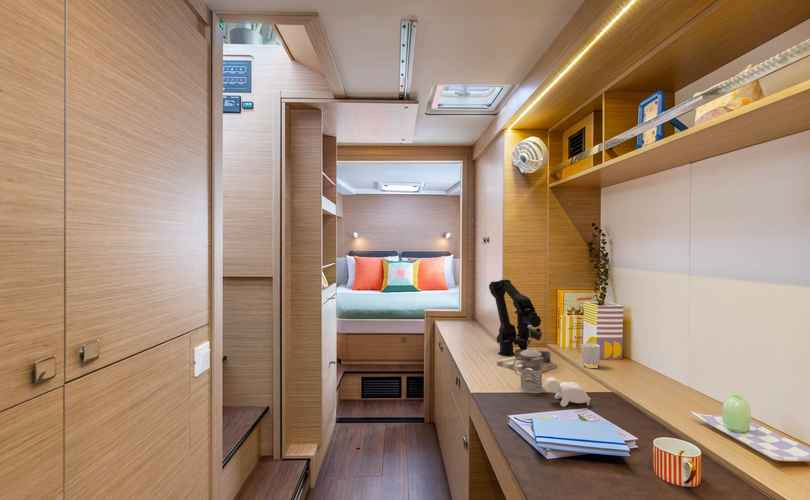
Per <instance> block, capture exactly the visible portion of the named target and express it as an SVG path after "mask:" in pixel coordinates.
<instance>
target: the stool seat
mask: <svg viewBox="0 0 810 500" xmlns="http://www.w3.org/2000/svg"><path fill="white" fill-rule="evenodd" d="M514 360H515V355H514V356H512V357H511V356H510V357H506V358H503V359H499V360H496V366H499V367H503V368H506V369H510V370H512V371H514V369H515V371H516V372H520V373H521V367H522V366H523V365H522V363H523V362H537V363H539V364H541V365H540V366H539V367H541V368H542V373H543V372H546V371H550V370H552V369H556V368H557V367H558V366H557V362H553V361H550V362H544V357H537V358H533V359H531V360H523V359H521V361H520V359H517V360H516V362H515V364H514V368H513V363H514ZM527 369H528V370H532V371H534V370H533V369H531V368H525V369H524V370H527Z"/></svg>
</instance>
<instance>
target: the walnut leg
mask: <svg viewBox="0 0 810 500" xmlns="http://www.w3.org/2000/svg"><path fill="white" fill-rule="evenodd" d="M514 351H515V352H514V353H515V354H514V356H515V359H516V358H517V357H518V358H519V357H521V359H523V360H531V359H533V358H537V357H525V356H522V355H521V354H520V352H522V351H524V350H523V349H520V348H516V349H514ZM537 351H538V352H540V353H541V354H542V355H541V356H540V357H544V362H551V351H543V350H537ZM518 358H517V359H518ZM519 359H520V358H519Z"/></svg>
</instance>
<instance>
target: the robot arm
mask: <svg viewBox="0 0 810 500" xmlns="http://www.w3.org/2000/svg"><path fill="white" fill-rule="evenodd" d="M488 288H489V292H490V294H491V295H492V297H494V299H495V305H496V309H497V313H498V318H499V322H500V325H499V329H498V335H497V336H496V339H495V341H496V342H497V343H498V344H499V352H497V354H498V355H502V356H506V357H508V356H512V355H515V352H514V345H516V346H518V347H519V349H523V350H528V346H529V345H530V340H531V339H534V340H536V341H540V340H542V339H541V338H542V336H543V332H542V329H541V328H539V327H540V325H541V324H542V319H541V317H540V316H539V315H538V312H537V311H536V309H535V306H534V305H533V301H531V299H530V297H528V296H526V295H524V294H521V292H520V291H519V290H518V289H517V288H516V286H514V284H513V283H512V282H511V280H510V279H500V280H497V281H490V283H489V284H488ZM506 294H507V295H508V296H509V297H510V299H511V300H512V305H513V306H514V308H515V309H516V310H515V311H514V314H516V318H517V319H516V320H517V322H516V323H517V325H516V326H515V324H512V323H511V320H510V316H509V312H508V307H507V302H506V298H505V295H506ZM528 325H532V328H527V327H528ZM535 328H536V329H535ZM516 330H517V331H516Z"/></svg>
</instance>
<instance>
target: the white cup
mask: <svg viewBox="0 0 810 500" xmlns="http://www.w3.org/2000/svg"><path fill="white" fill-rule="evenodd" d="M580 347H581V348H580V349H581V358H582V363H583V362H584V363H586V364H593V365H598V364H599V365H600V358H601V345H599V344H598V343H594V342H593V343H592V342H591V343H590V342H585V343H581V344H580Z"/></svg>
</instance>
